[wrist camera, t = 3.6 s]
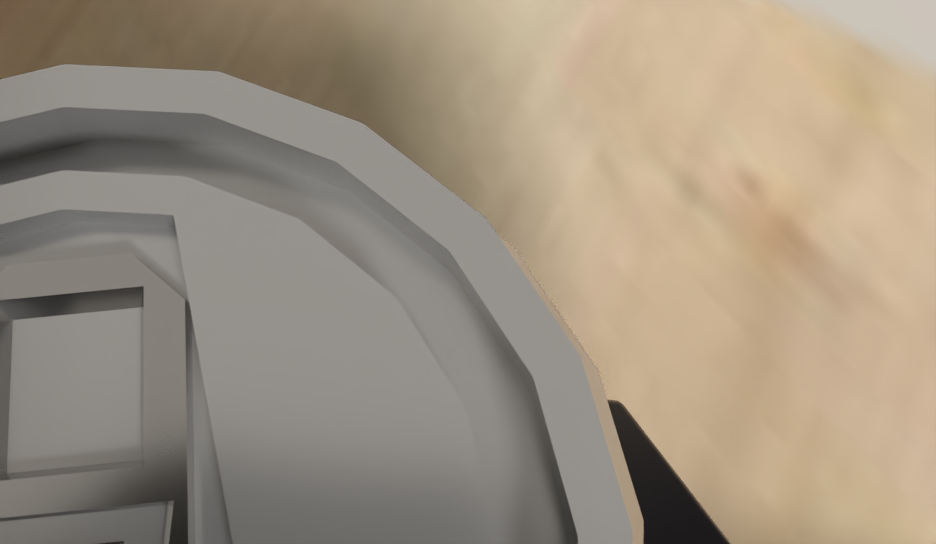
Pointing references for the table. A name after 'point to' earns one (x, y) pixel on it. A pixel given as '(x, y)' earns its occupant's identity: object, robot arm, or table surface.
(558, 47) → the table surface
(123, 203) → the beer can
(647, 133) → the table surface
